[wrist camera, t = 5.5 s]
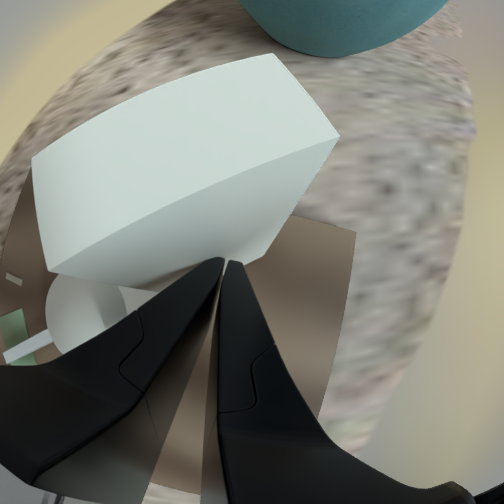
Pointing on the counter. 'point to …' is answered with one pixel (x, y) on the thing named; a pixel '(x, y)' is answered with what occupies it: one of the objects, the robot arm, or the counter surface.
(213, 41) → the counter surface
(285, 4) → the teal bowl
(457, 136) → the counter surface
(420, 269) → the counter surface
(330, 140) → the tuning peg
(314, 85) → the counter surface
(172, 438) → the dial board
